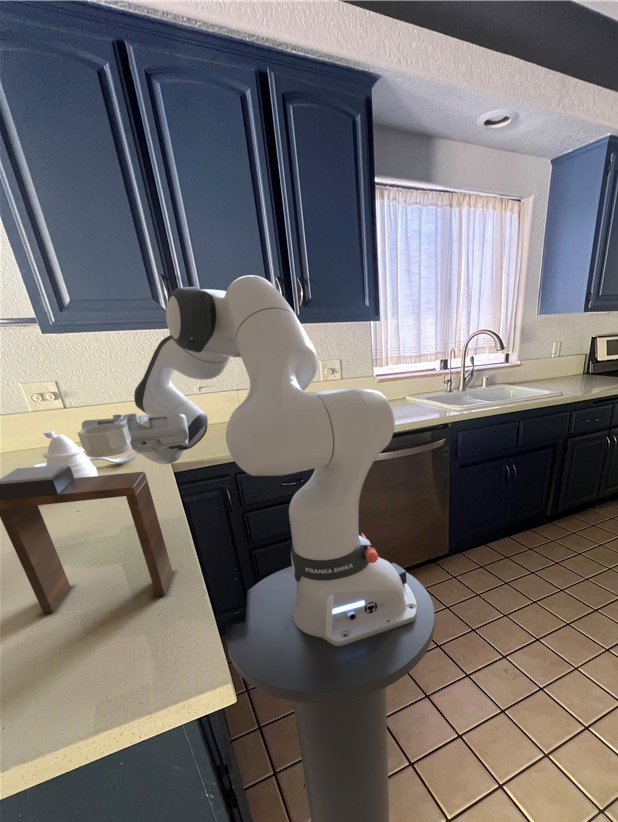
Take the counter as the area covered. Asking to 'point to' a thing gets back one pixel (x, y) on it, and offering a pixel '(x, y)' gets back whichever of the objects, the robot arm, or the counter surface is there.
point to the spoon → (107, 459)
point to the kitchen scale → (35, 481)
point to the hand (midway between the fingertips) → (124, 417)
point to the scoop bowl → (106, 438)
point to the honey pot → (68, 456)
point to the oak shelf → (39, 548)
